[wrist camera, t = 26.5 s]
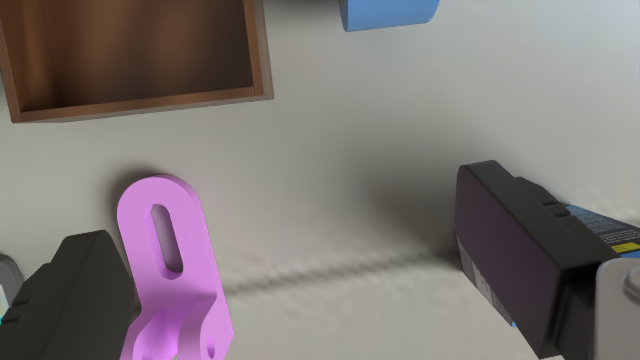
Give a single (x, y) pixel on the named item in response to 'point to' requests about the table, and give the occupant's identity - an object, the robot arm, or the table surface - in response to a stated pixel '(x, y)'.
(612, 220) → the blue retail box
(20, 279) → the smartphone
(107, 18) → the wooden box
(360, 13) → the tape roll
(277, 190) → the table surface
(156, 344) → the bracket
